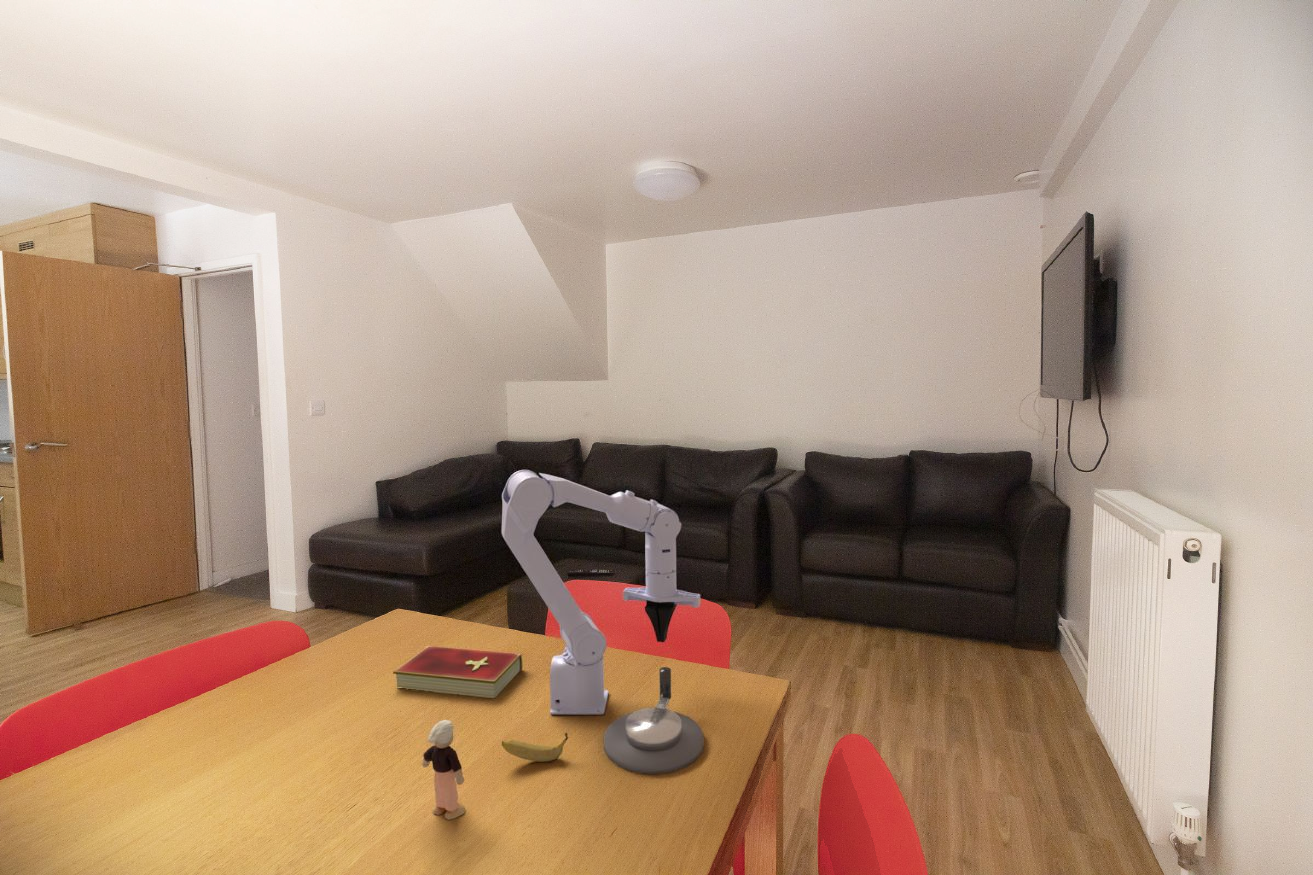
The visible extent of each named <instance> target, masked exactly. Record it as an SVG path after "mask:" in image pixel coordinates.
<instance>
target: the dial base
mask: <svg viewBox="0 0 1313 875" xmlns="http://www.w3.org/2000/svg"><path fill="white" fill-rule="evenodd" d="M674 712H675V713H676V714H677V715H678V716H679V717H680V719H681V732H682V735H681V738H680V740H679V741H678V742H677V743H676V744H675V745H673V746H672V747H669V748H666V749H663V750H643V749H639V748H637V747H635V746H633V745H631V744H630V743H629V742H628V741H627V739H626V726H625V723H626V719H627V717H628V716H629V715H630V714H632V713H633V712H630V713H627V714H625V715H622V716H620V717H619V718H617V719H616V720H614V721H613V722H611V723H610V724H609V725H608V726H607V728H606V730H605V732H604V735H603V748H604V749H603V750H604V752H605V755H606V756H607V758H608V759H609V760H610V761H611V762H612V763H613V764H615V765H616V766H618V767H620V768H622V769H624V770H626V771H629V772H634V773H637V774H645V775H659V774H661V775H662V774H668V773H673V772H676V771H680V770H682V769H685V768H686V767H688V766H690V765H691V764H693V763H694V762H695V761H696V760H697V759H698V758H699V757H700V755H701V754H702V752H703V749H704V734H703V733H704V731H703V729H702V728H701V726H700V725H699V724H698V723H697V721H695V720H694V719H692V718H691V717H689V716H688V715H685V714H682V713H680V712H677V711H674Z"/></svg>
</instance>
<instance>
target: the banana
mask: <svg viewBox="0 0 1313 875" xmlns="http://www.w3.org/2000/svg"><path fill="white" fill-rule="evenodd" d="M568 735H569V734H568V732H565V733H564V736H565V738H564V739H563V740H562V742H561V743H559V744H554V745H544V744H534V743H528V742H524V741H520V740H517V739H509V740H502V742H501V746H502V748H503V749H504V751H506V752H507V753H508V754H509V755H512V756H513V757H514V756H515V757H516V758H520V759H523V760H527V761H532V762H540V763H541V762H543V763H545V762H551V761H554V760H557V759H558V758H560V756H561V755H562V754H563V751H564V750H563V748H564V746H565V744H566V742H567V741H568V739H569V736H568Z"/></svg>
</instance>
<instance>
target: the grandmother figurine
mask: <svg viewBox="0 0 1313 875" xmlns="http://www.w3.org/2000/svg"><path fill="white" fill-rule="evenodd" d="M427 741H428V743H430V744H434V745H432V746H430V747H429V748H428V749H427V750H426V751H425V752H424V753H423V755H422V757H423V760H422V763H421V766H422V767H423V768H428V767H429V766H430V763H431V762H432V763H431V764H432V769H433V771H434V777H433V778H434V785H433V786H434V796H435V799H434V800H435V805H434V806H435V807H434V808H433V809H432V813H433V814H434V815H438V816H439V815H442V814H443V813H445V814H444V818H445V819H446V820H451V821H452V820H453V819H456V818H458V817H460V816H462V815H463V814H465V812H466V807H465V805H463V804H462V803H459V802H458V799H459V794H458V789H457V785H459V786H460V785H463V784H464V782H465V778H464V776H463V774H464V773H463V769H462V768H463V767H462V764H461V762H460V759H459V757H458V754H457V750H455V749H454V748H452V747H451V744H452V743H453V741H454V724H453V722H452V721H450V720H448V719H443V720H440V721H439V722H437V723H436V724H435V725H433V727H432V729H431V730H430V732H429V735H428V738H427Z"/></svg>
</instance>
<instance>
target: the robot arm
mask: <svg viewBox="0 0 1313 875" xmlns="http://www.w3.org/2000/svg"><path fill="white" fill-rule="evenodd" d="M540 476H541V477H540ZM635 494H636V493H634V492H633V491H631V490H628V489H627V490H625V492H623V491H618V492H615V493H613V494H611V495H608V494H606V493H603V492H601V491H599V490H598V491H597V490H595V489H593V488H590V487H588V486H584V485H582V484H579V483H576V482H573V481H571V480H568V479H566V478H562V477H560V476H559V477H558V476H555V475H551V474H547V473H541V472H539V473H538V474H537V473H536V472H534V471H532V470H529V469H521V470H518V471H516V472H514V473H512V474H511V475H510V477H508V479H507V481H506V483H505V486H504V488H503V491H502V493H501V500H502V507H501V508H502V514H501V536H502V537H503V539H504V541H505V543H506V545H507V546H508V548H509V550H510V551H511V553H512V554H513V555H514V557H515V559H516V560H517V561H518V563H519V564H520V567H521V568H522V569H523V571H524V572H525V574H526V576H527V577H528V579H529V580H530V582H531V583H532V585H533V586H534V588H535V589H536V591H537V592H538V594H539V595H540V597H541V599H542V600H543V601H544V603H545V605H546V607H547V608H548V610H549V611H550V612H551V615H553V617H554V619H555V620H556V622H557V624H558V625H559V633H560V634H559V635H560V637H561V639H562V640H563V642H564V643H565V644H566V646H565V647H564V650H563V652H562V654H557V655H553V656H552V659H551V663H550V672H549V689H550V691H549V692H550V711H549V712H550V714H551V715H604V713H605V711H606V706H607V702H608V697H609V690H608V689H605V679H604V678H605V677H604V674H605V672H604V654H605V653H606V649H607V639H606V636H605V634H604V633H603V632H602V631H601V630H599V629H598V627H597V625H596V624H595V623H594V621H593V619H592V617H591V616H590V615H589V614H587V613H586V612H583V611H582V609H581V608H580V606H579V605H578V603H577V602H576V600H575V599H574V597H573V595H572V594H571V593H570V591H569V589H568V587H567V586H566V584H565V583H564V581H563V580H562V578H561V576H560V575H559V573H558V572H557V570H556V569H555V567H554V565H553V564H552V562H551V561H550V559H549V557H548V556H547V554H546V552H545V551H544V549H543V548H542V546H541V544H540V543H539V542H538V540H537V538H536V537H535V536H534V533H535V530H536V527H537V525H538V522H539V520H540V519H541V517H542V516H543V514H544V513H545V512H546V511H547V509H548V508H549V507H550V506H552V507H553V508H557V507H559V506H561V505H563V504H565V503H570V504H574V505H577V506H581V507H584V508H587V509H590V510H591V509H592V510H593V511H594V510H595V511H597V512H598V511H599V512H602V513H605V514H606V515H605V516H606V517H607V519H608V521H609V522H610V523H612V524H614V525H615V524H616V525H618V526H622V527H624V528H629V529H631V530H635V531H637V532H640V533H641V532H642V533H643V532H645V537H644V538H645V546H644V548H645V550H644V552H645V556H644V557H645V559H644V561H645V587H625V588H624V590H622V599H623V600H622V601H626V602H629V601H639V602H646V603H645V606H644V611H645V613H646V615H647V617H648V618H649V621H650V623H651V625H652V627H653V631H654V634H655V638H656V642H658V643H665V642H666V640H667V638H668V632H669V631H668V630H669V626H670V624H671V620H672V618H673V615H674V613H675V610H676V608H677V606H678V605H680V606H692V608H697V609H698V608H699V607H700V605H701V593H693V592H688V591H686V590H681V589H677V536H678V535H679V533H680V531H681V528H682V522H681V521H680V519H679V516H678V514H677V512H676V511H675V510H673V509H671V508H669V507H667V506H665V505H663V504H661V503H659V502H658V501H656V500H655V499H650V500H647V499H644V498H641V497H637V496H635Z"/></svg>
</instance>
